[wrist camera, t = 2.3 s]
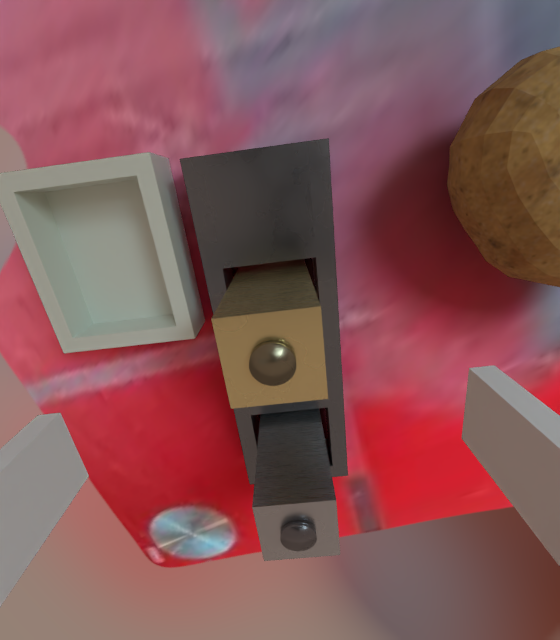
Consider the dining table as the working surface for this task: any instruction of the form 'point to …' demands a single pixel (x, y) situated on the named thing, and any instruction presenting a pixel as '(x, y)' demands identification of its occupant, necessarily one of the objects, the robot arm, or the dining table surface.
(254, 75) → the dining table surface
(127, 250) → the parts tray
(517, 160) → the potato
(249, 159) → the rail
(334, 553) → the square rod with stud
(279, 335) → the block with metal knob
